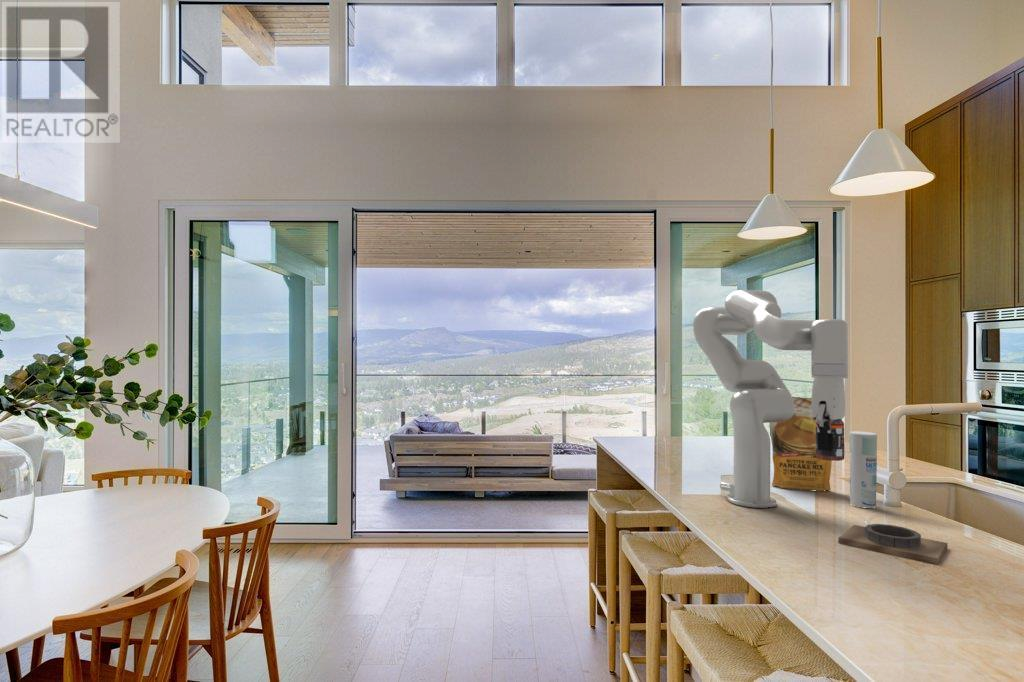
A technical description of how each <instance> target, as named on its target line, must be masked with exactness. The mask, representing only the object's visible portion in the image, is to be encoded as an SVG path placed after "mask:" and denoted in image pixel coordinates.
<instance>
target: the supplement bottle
mask: <svg viewBox="0 0 1024 682" xmlns="http://www.w3.org/2000/svg"><path fill="white" fill-rule="evenodd" d="M824 419H830V418H827V417H824ZM841 420H842V419H838V420H835V421H833V424H832V432H831V433H833V451H825V450H819V449H818V436H817V427H818V425H817V421H816V457H817V458H819V459H823V460H832V462H833V461H835V462H836V461H837V462H839V461H844V460H845V454H846V453H845V423H844V421H843V420H842V421H841ZM827 425H828V423H827Z"/></svg>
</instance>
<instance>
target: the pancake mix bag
mask: <svg viewBox="0 0 1024 682" xmlns="http://www.w3.org/2000/svg"><path fill="white" fill-rule="evenodd" d="M792 398H793V401H794V405H795V411H794V414H793V416H792V417H791V418H790V419H789V420H787V421H784V422H771V423H769V434H770V435H769V436H770V442H771V447H772V449H771V450H772V463H773V478H772V483H771V487H775V486H778V487H777V488H779V487H781V488H780V489H785V488H788V489H787V490H795V489H802V490H801V491H808V490H816V491H815V492H819V491H824V490H831V491H832V488H831V483H830V479H831V475H832V474H831V473H832V472H831V471H832V463H833V461H832V460H823V459H819V458H817V457H816V421H817V420H814V419H812V417H811V402H812V397H801V396H792ZM824 492H825V491H824Z"/></svg>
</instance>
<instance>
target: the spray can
mask: <svg viewBox="0 0 1024 682" xmlns="http://www.w3.org/2000/svg"><path fill="white" fill-rule="evenodd" d="M877 454H878V434H877V433H876V432H871V431H859V430H858V431H855V430H853V431H852V430H851V431H850V432H849V504H852V505H855V506H859V507H866V508H874V507H876V508H877V479H878V478H877V471H878V469H877V466H878V460H877V459H878V456H877ZM852 505H851V506H852ZM874 509H875V508H874Z"/></svg>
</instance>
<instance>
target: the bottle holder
mask: <svg viewBox="0 0 1024 682" xmlns="http://www.w3.org/2000/svg"><path fill="white" fill-rule="evenodd" d="M837 542H838V543H839V544H843V545H846V544H847V545H848V546H851V545H853V546H852V547H855V546H857V548H860V547H861V548H860V549H865V548H866V549H867V550H869V549H871V550H870V551H874V550H875V552H878V551H879V552H880V553H884V554H888V555H893V556H897V557H901V558H902V557H903V558H906V559H909V560H910V559H911V560H916V561H921V562H926V563H929V564H934V565H939V563H940V561H941V560H942V558H943V557H944V555H945V553H946V552H947V550H948V542H944V541H938V540H934V539H930V538H929V539H928V538H924V537H922V535H921V533H919V532H918V531H916V530H913V529H910V528H907V527H903V526H897V525H892V524H885V523H884V524H883V523H871V524H867V525H866V526H862V525H858V524H853V525H852V526H851V527H849V528H848V529H847V530H846V531H844V532H843V533H842V534H841V535H840V536H838V540H837Z"/></svg>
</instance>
